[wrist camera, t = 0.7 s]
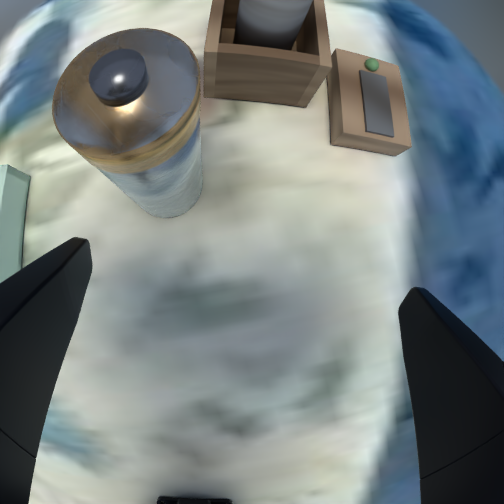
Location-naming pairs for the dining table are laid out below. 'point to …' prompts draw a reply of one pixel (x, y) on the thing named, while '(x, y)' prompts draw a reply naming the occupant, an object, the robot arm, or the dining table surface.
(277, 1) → the bin
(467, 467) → the robot arm
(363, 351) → the dining table surface
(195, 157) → the cell
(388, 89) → the wooden switch box
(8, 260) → the trough
